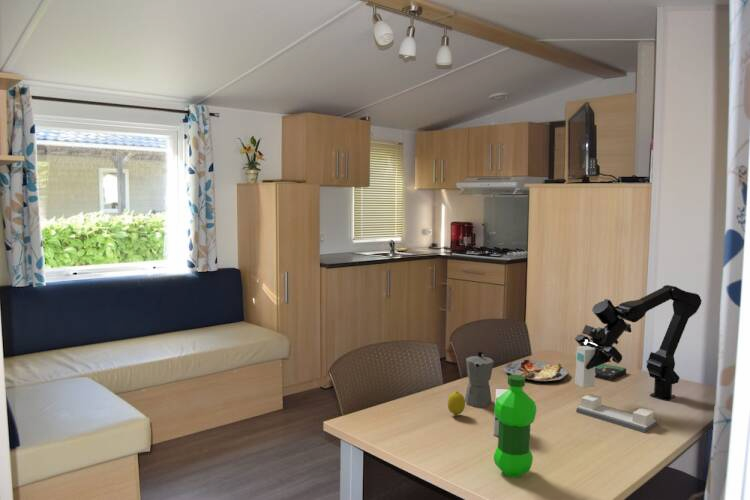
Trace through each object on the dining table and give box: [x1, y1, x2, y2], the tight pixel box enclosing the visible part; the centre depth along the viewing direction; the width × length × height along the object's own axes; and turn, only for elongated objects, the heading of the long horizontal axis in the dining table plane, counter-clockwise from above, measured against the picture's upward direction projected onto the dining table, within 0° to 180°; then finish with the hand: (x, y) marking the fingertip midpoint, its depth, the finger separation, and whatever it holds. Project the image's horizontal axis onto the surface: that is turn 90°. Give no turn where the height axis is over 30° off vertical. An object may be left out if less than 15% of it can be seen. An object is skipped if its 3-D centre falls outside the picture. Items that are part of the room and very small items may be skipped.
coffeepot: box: [464, 350, 495, 408], centre depth 199 cm, size 15×9×18 cm, turn 163°
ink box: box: [493, 388, 509, 437], centre depth 174 cm, size 9×5×12 cm, turn 168°
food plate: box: [503, 359, 569, 383], centre depth 231 cm, size 25×23×4 cm
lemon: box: [447, 390, 466, 417], centre depth 186 cm, size 6×6×8 cm
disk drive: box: [595, 363, 627, 382], centre depth 233 cm, size 10×3×15 cm
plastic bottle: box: [493, 374, 537, 478], centre depth 148 cm, size 10×10×25 cm
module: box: [574, 345, 596, 388], centre depth 197 cm, size 5×4×13 cm
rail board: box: [576, 393, 659, 434], centre depth 187 cm, size 10×22×4 cm, turn 43°
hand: (582, 366), depth 197 cm, fingers closed on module, 4 cm apart
